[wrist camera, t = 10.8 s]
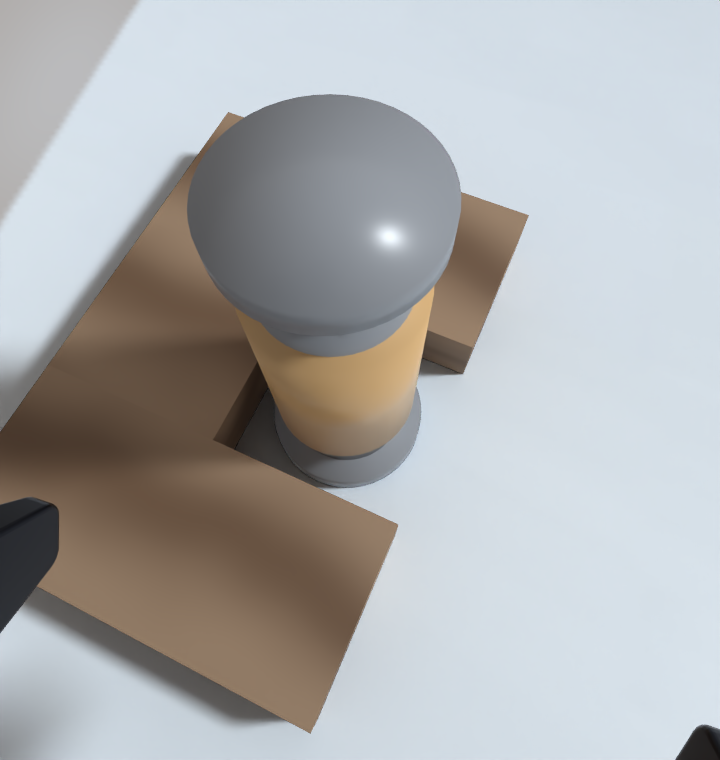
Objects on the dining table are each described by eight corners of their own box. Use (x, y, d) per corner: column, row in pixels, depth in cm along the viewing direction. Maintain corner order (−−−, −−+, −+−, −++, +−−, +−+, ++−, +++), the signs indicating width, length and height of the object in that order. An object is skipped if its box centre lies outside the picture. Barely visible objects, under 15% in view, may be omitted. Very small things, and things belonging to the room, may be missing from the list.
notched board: (317, 719, 19) (310, 733, 17) (-22, 538, 21) (-69, 529, 19) (514, 251, 26) (528, 215, 23) (239, 153, 28) (227, 112, 26)
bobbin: (385, 511, 22) (403, 373, 10) (253, 452, 23) (119, 259, 11) (440, 384, 23) (512, 136, 11) (315, 334, 24) (263, 57, 12)
